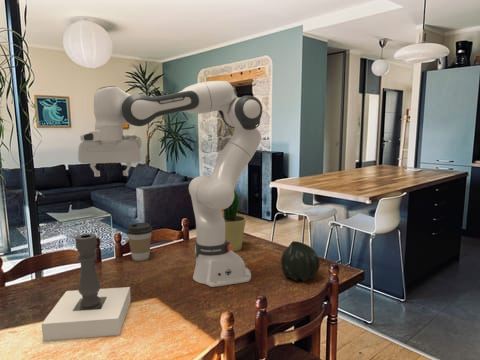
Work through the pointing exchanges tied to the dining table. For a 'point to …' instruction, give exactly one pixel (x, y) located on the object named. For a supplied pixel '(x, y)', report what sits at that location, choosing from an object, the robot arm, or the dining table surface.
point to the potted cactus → (234, 224)
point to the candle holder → (88, 272)
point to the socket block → (87, 316)
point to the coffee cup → (139, 240)
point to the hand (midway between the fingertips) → (111, 176)
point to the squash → (299, 261)
